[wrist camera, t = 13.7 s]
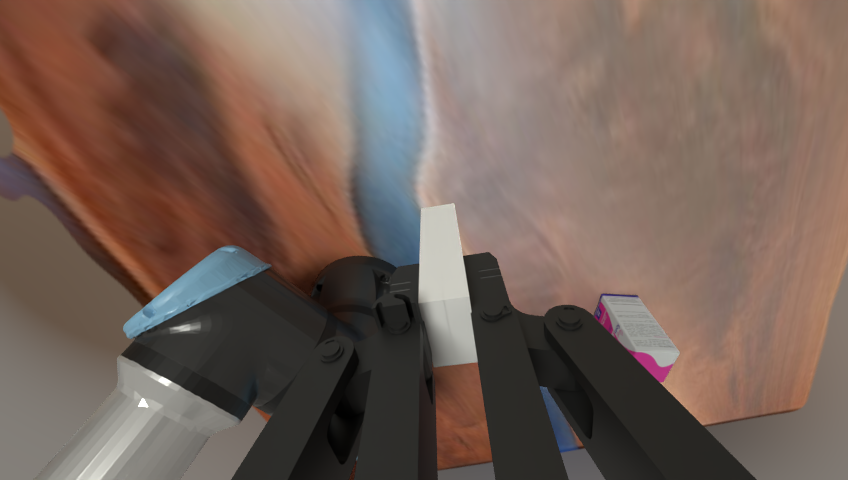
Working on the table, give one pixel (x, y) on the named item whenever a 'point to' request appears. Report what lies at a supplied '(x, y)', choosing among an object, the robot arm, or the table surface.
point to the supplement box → (637, 332)
